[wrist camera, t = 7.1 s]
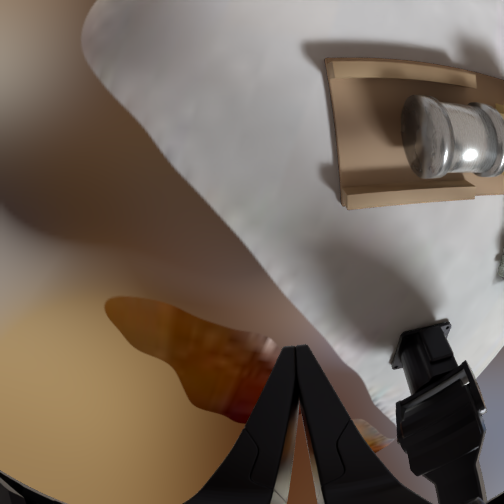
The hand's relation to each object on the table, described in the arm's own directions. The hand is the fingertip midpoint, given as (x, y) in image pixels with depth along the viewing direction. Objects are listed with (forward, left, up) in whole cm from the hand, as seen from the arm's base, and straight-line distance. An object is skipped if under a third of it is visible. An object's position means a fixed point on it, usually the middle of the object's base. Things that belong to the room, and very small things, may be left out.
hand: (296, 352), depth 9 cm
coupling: (+5, -12, -12) cm, 17 cm away
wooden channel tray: (+5, -13, -12) cm, 18 cm away
